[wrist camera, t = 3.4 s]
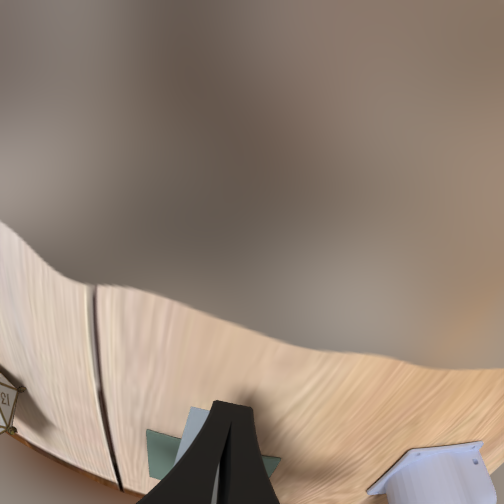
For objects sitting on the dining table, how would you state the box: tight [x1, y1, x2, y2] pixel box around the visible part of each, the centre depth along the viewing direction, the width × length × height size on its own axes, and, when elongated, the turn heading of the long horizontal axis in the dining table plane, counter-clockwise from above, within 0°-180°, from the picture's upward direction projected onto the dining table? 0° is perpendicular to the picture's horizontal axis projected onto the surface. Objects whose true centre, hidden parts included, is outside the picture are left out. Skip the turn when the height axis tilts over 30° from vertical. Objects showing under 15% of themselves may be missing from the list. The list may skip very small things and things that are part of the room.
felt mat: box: [146, 429, 281, 480], centre depth 21 cm, size 10×9×1 cm
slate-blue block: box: [173, 407, 220, 504], centre depth 15 cm, size 4×4×8 cm
